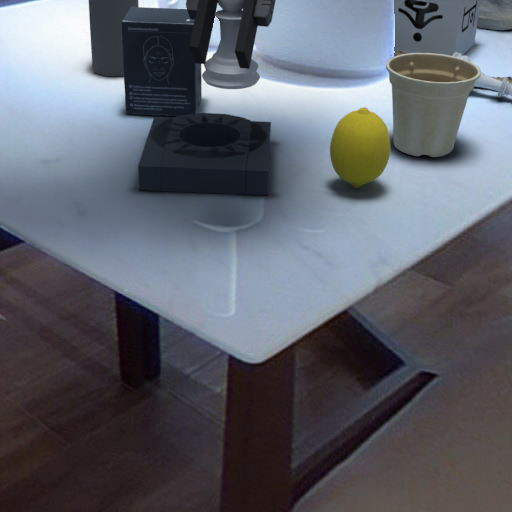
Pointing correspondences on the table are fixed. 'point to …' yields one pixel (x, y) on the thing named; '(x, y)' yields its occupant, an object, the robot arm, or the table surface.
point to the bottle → (108, 34)
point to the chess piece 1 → (229, 52)
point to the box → (159, 62)
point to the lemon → (360, 147)
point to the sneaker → (495, 14)
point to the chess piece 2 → (490, 81)
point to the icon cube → (435, 25)
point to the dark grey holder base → (206, 155)
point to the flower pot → (429, 100)
